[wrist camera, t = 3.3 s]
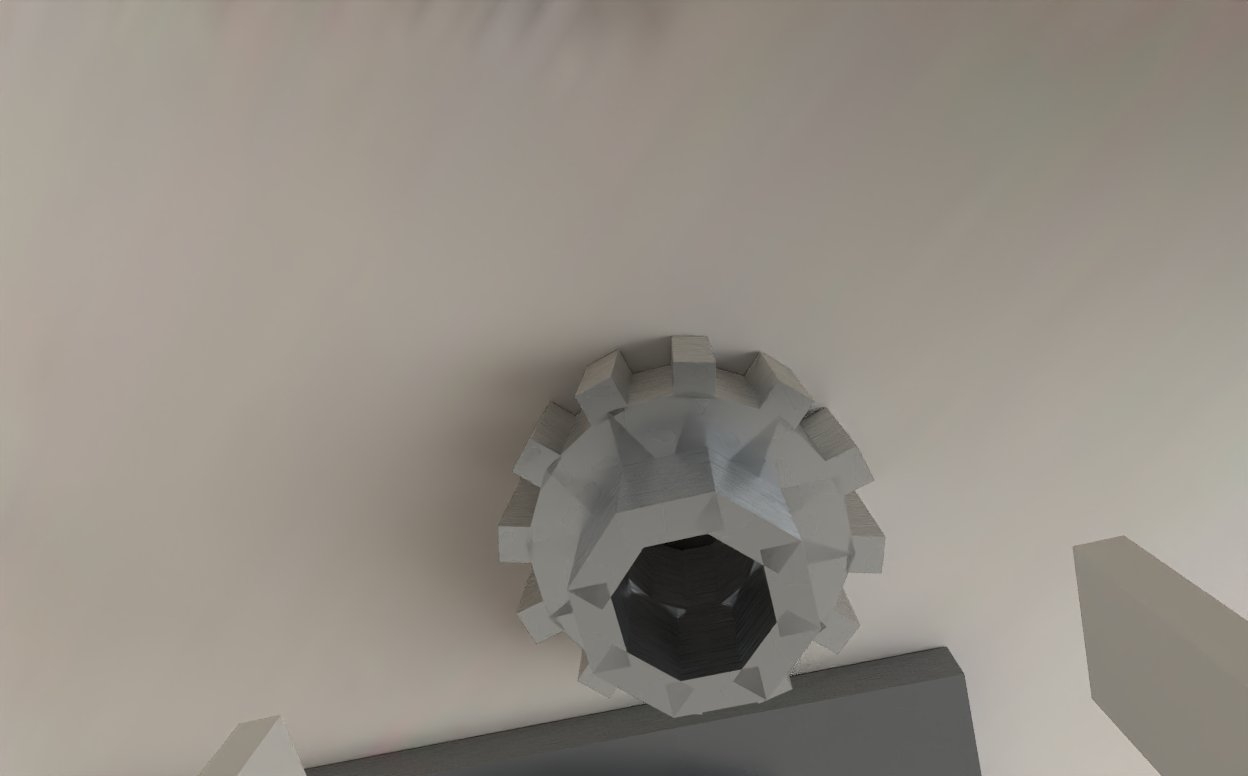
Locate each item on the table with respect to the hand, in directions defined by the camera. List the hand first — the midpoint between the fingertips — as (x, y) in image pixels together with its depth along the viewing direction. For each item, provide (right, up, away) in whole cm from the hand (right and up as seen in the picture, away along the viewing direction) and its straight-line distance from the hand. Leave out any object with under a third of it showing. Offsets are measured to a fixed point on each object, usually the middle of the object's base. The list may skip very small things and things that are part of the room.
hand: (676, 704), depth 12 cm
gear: (+1, +2, +8) cm, 8 cm away
